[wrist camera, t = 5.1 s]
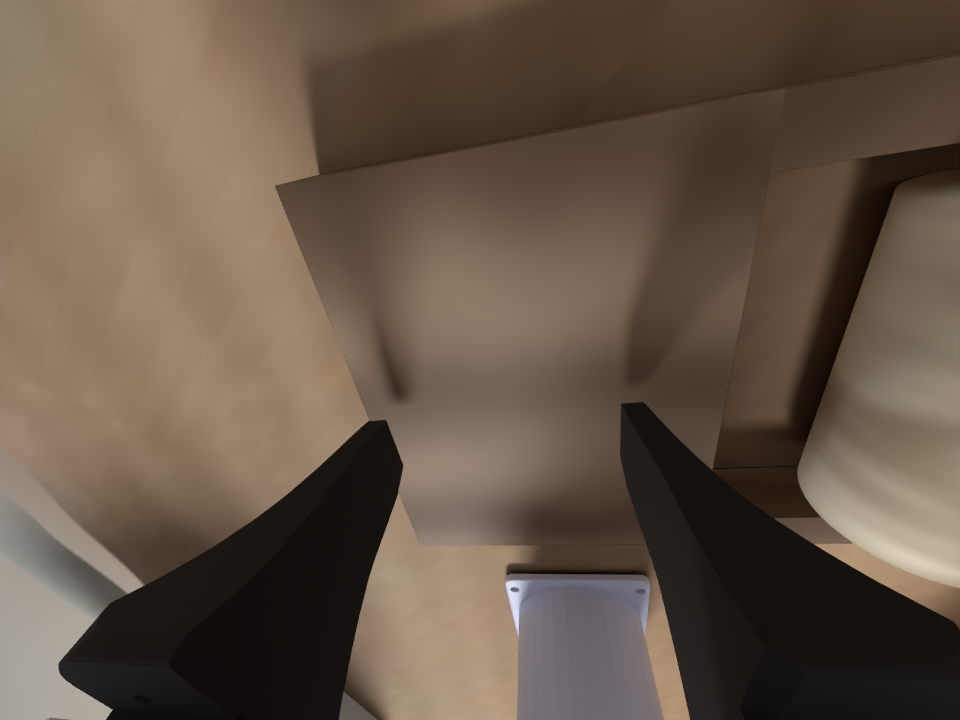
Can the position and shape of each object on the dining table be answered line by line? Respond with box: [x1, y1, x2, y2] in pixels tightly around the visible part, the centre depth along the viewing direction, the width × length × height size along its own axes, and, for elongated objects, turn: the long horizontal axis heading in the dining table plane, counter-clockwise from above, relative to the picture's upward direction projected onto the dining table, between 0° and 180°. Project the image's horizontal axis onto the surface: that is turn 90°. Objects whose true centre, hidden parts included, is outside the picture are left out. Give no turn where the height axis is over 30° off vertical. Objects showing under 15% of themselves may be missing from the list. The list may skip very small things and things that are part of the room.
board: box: [275, 52, 960, 546], centre depth 13 cm, size 16×25×2 cm, turn 100°
